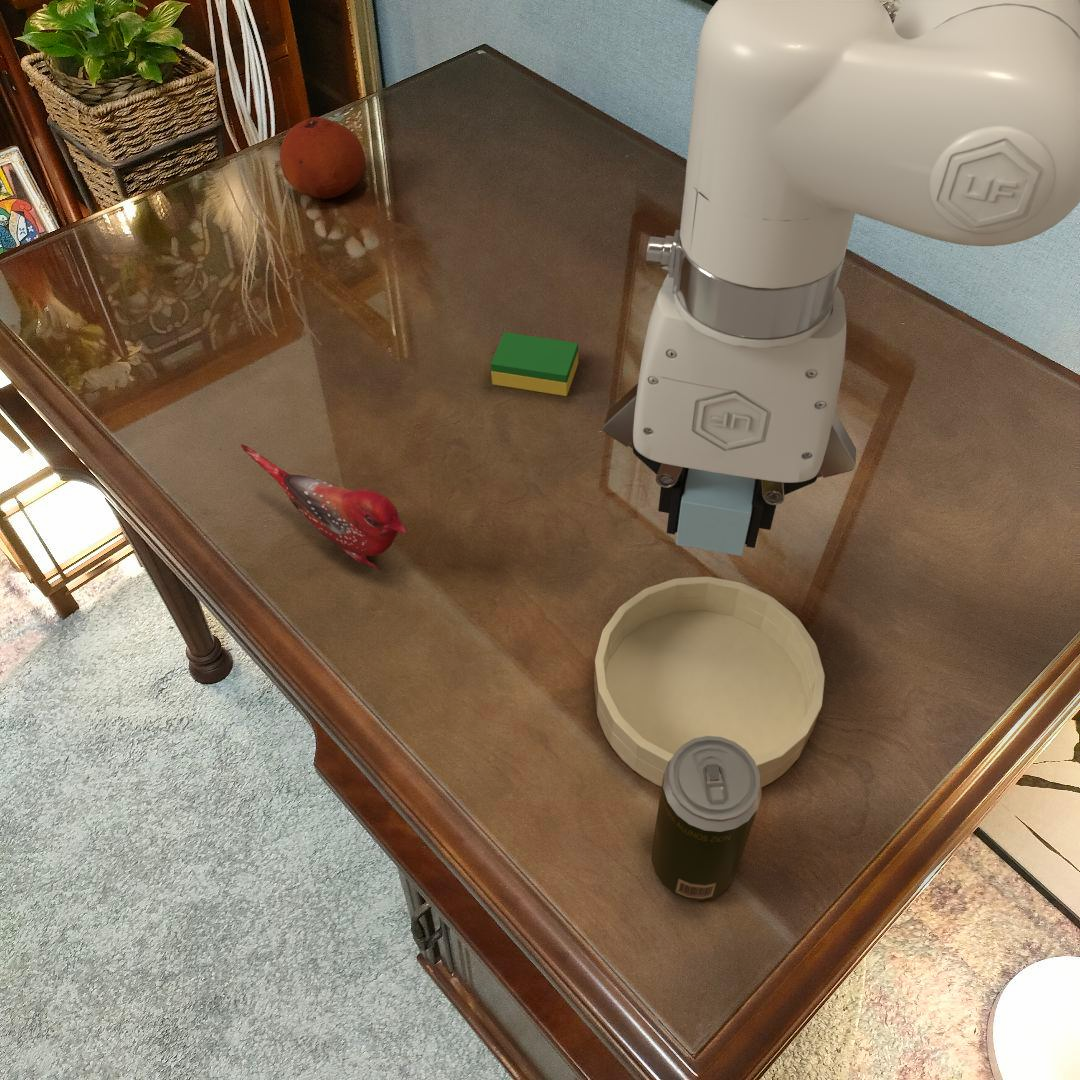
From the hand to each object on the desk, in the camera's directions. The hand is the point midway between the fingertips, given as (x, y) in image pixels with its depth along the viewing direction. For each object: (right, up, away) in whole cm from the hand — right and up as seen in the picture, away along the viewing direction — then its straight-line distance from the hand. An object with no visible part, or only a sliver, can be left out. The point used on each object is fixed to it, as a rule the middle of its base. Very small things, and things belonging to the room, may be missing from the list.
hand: (713, 521), depth 62 cm
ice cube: (0, 0, 0) cm, 0 cm away
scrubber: (-11, +14, +31) cm, 36 cm away
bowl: (+1, -12, +10) cm, 16 cm away
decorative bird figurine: (-27, -2, +19) cm, 33 cm away
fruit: (-34, +38, +51) cm, 72 cm away
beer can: (-1, -22, +2) cm, 22 cm away
